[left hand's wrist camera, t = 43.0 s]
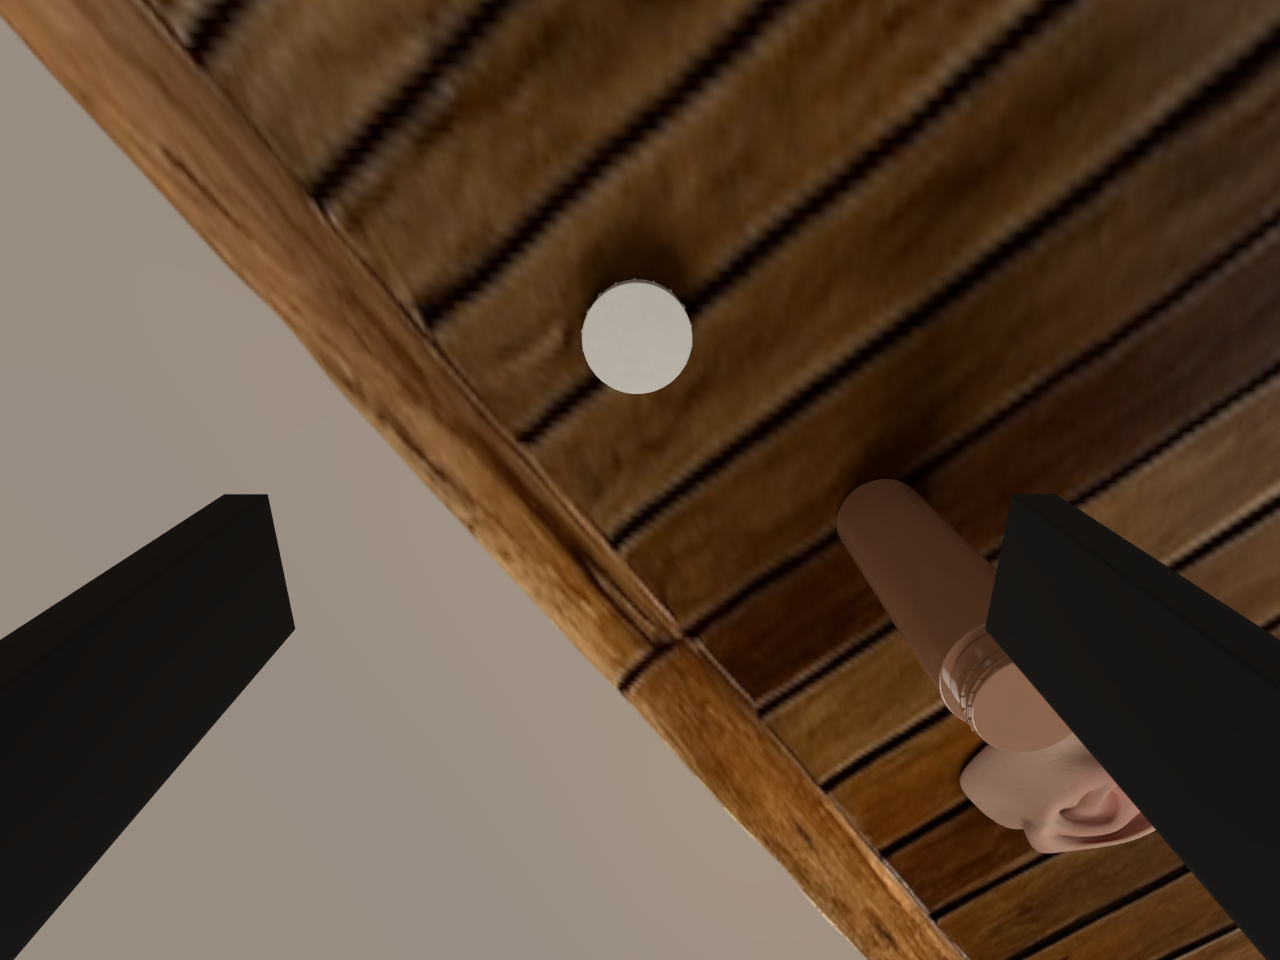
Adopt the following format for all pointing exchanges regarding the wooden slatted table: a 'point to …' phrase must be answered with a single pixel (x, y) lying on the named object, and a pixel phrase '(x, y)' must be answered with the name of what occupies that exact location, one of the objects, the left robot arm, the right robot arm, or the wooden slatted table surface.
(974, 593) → the jar
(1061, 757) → the anatomical model
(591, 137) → the wooden slatted table surface
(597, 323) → the lid
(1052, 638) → the left robot arm
